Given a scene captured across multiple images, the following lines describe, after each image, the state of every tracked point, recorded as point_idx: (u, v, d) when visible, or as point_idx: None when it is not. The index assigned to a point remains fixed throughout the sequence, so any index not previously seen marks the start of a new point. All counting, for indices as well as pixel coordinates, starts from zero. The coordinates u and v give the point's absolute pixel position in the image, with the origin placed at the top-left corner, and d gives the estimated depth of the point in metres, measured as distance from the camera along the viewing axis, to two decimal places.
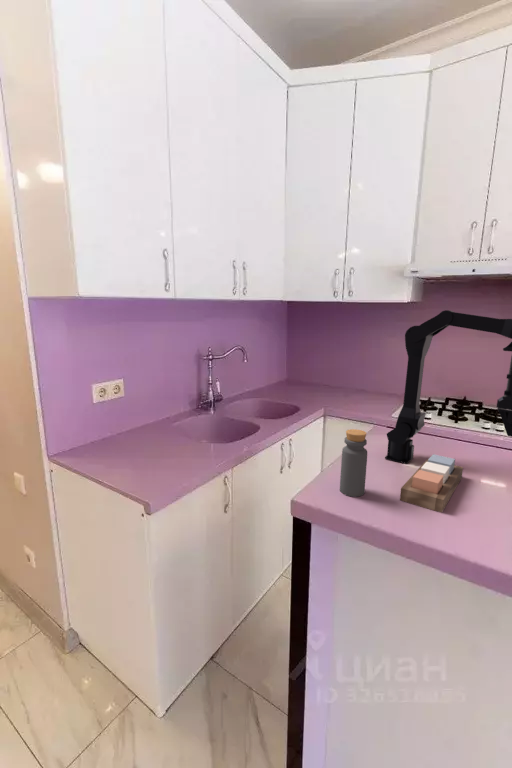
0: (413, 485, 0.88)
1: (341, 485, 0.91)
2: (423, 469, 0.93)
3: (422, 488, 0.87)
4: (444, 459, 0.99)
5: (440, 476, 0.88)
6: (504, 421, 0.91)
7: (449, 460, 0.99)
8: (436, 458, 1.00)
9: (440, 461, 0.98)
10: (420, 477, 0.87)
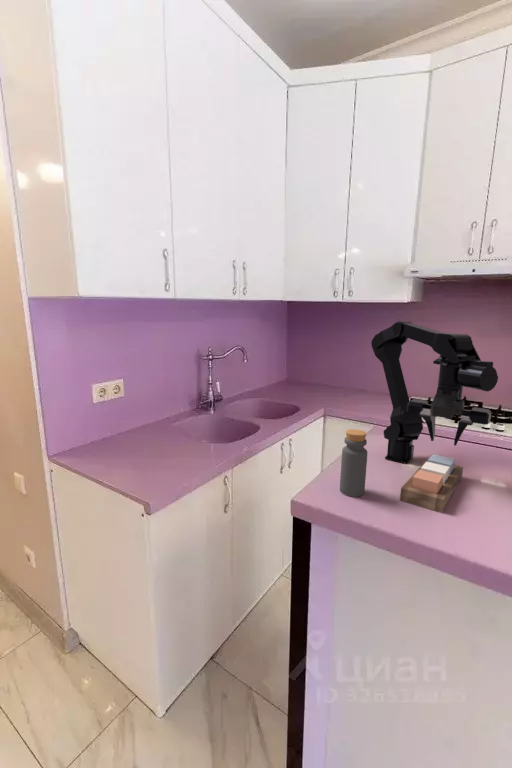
0: (413, 485, 0.88)
1: (341, 485, 0.91)
2: (423, 469, 0.93)
3: (422, 488, 0.87)
4: (444, 459, 0.99)
5: (440, 476, 0.88)
6: None
7: (449, 460, 0.99)
8: (436, 458, 1.00)
9: (440, 461, 0.98)
10: (420, 477, 0.87)
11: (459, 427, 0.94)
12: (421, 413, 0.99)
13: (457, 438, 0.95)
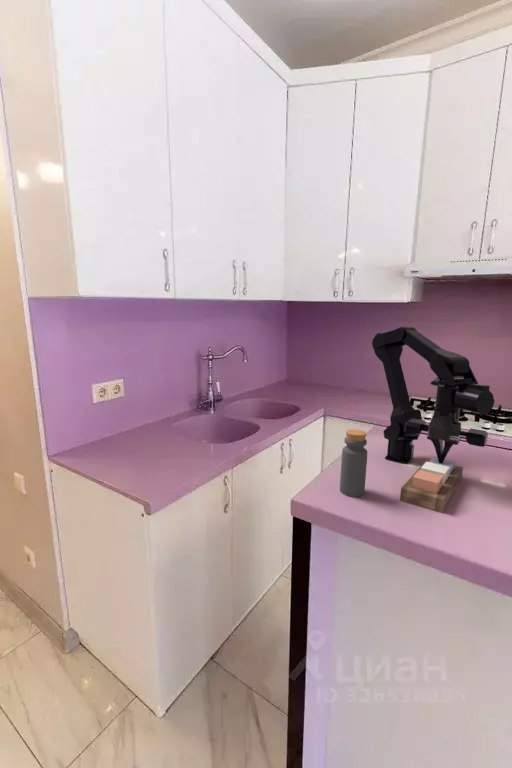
0: (413, 485, 0.88)
1: (341, 485, 0.91)
2: (423, 469, 0.93)
3: (422, 488, 0.87)
4: (443, 463, 0.99)
5: (440, 476, 0.88)
6: None
7: (449, 464, 0.99)
8: (436, 462, 1.00)
9: (439, 464, 0.98)
10: (420, 477, 0.87)
11: (445, 446, 0.97)
12: (429, 435, 0.98)
13: (443, 456, 0.98)
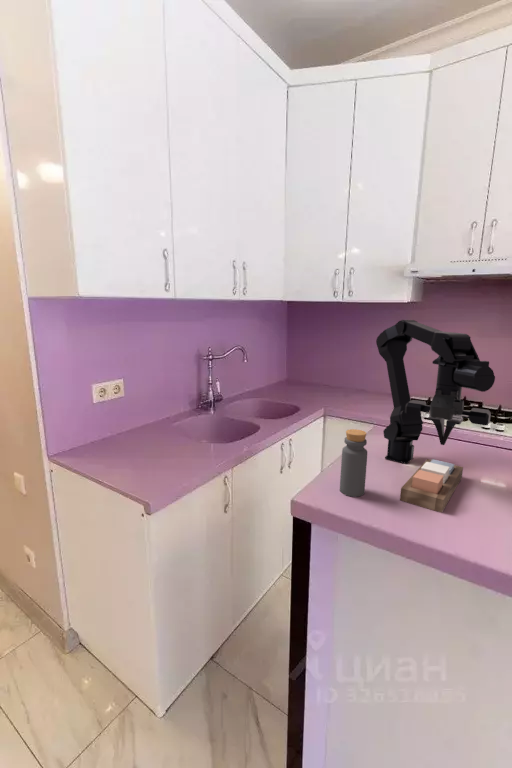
0: (413, 485, 0.88)
1: (341, 485, 0.91)
2: (423, 469, 0.93)
3: (422, 488, 0.87)
4: None
5: (440, 476, 0.88)
6: None
7: (448, 465, 0.99)
8: (435, 463, 1.00)
9: None
10: (420, 477, 0.87)
11: (447, 426, 0.94)
12: (430, 416, 0.95)
13: (445, 437, 0.95)
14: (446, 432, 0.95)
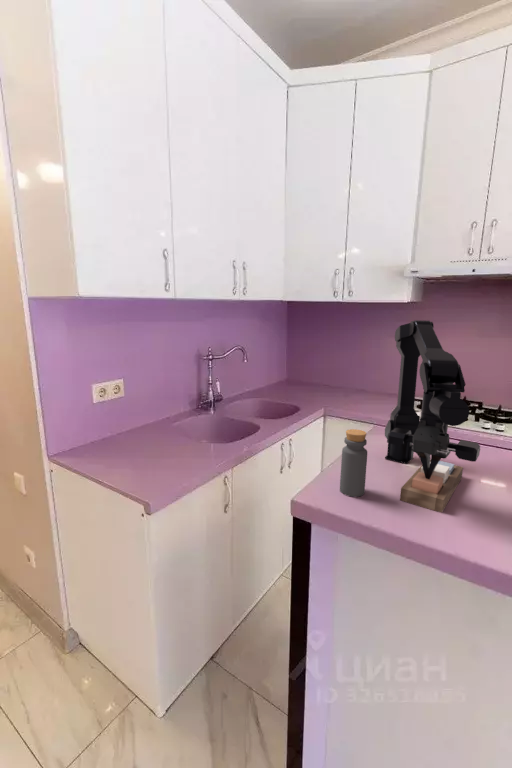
0: (413, 487, 0.88)
1: (341, 485, 0.91)
2: None
3: None
4: None
5: (440, 478, 0.88)
6: None
7: (448, 465, 0.99)
8: None
9: None
10: (420, 479, 0.87)
11: (432, 460, 0.86)
12: None
13: (431, 471, 0.87)
14: (431, 466, 0.86)
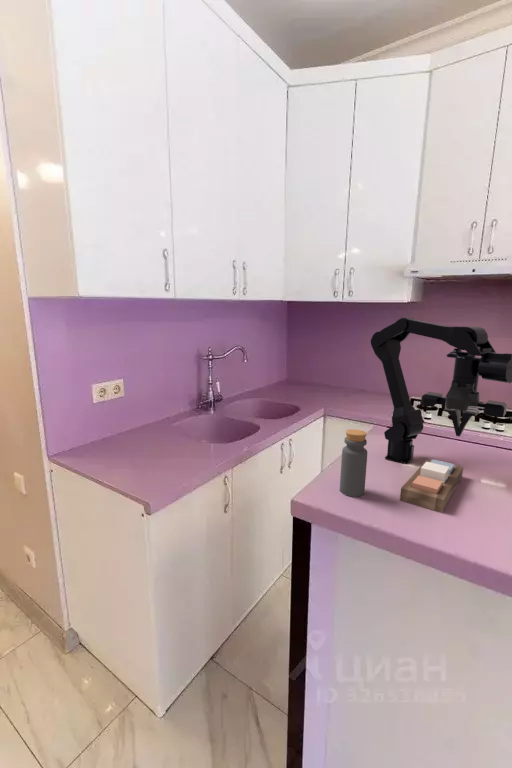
0: None
1: (341, 485, 0.91)
2: (423, 469, 0.93)
3: None
4: None
5: (439, 482, 0.89)
6: None
7: (448, 465, 0.99)
8: (435, 463, 1.00)
9: None
10: (419, 483, 0.88)
11: (463, 418, 0.96)
12: (446, 407, 0.98)
13: (461, 429, 0.97)
14: (462, 424, 0.97)
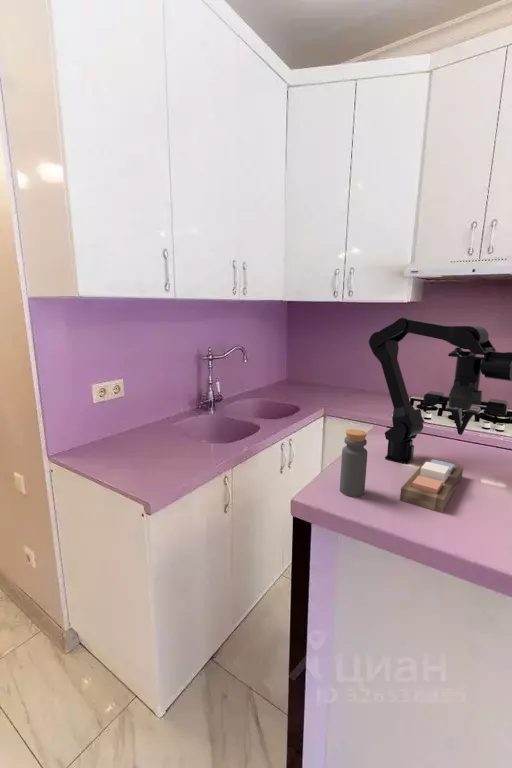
0: None
1: (341, 485, 0.91)
2: (423, 469, 0.93)
3: None
4: None
5: (439, 482, 0.89)
6: None
7: (448, 465, 0.99)
8: (435, 463, 1.00)
9: None
10: (419, 483, 0.88)
11: (465, 416, 0.97)
12: (448, 406, 0.98)
13: (463, 427, 0.98)
14: (464, 422, 0.97)
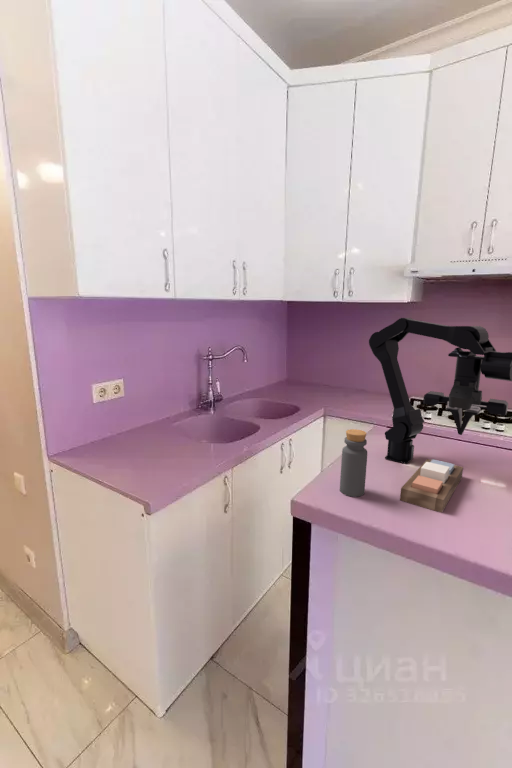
0: None
1: (341, 485, 0.91)
2: (423, 469, 0.93)
3: None
4: None
5: (439, 482, 0.89)
6: None
7: (448, 465, 0.99)
8: (435, 463, 1.00)
9: None
10: (419, 483, 0.88)
11: (465, 416, 0.97)
12: (448, 406, 0.98)
13: (463, 427, 0.98)
14: (464, 422, 0.97)
